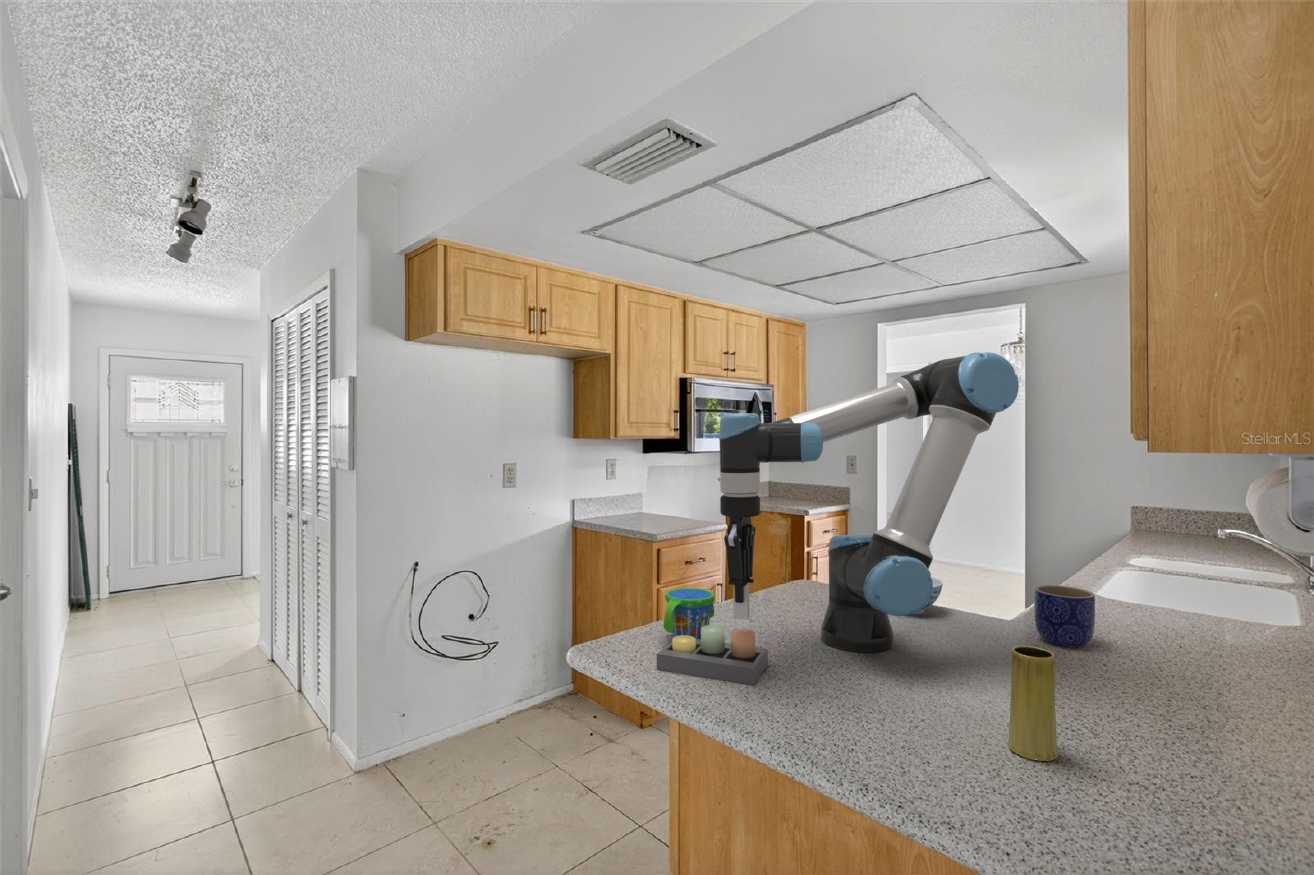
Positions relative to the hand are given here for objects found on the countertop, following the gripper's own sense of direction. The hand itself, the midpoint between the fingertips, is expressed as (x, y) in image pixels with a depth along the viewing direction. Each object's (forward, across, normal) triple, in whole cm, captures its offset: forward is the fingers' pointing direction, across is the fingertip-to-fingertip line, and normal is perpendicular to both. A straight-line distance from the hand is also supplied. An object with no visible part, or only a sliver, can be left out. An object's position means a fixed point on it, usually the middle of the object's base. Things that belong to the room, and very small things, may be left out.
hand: (741, 618), depth 119 cm
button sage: (+7, 0, -6) cm, 9 cm away
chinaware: (+11, -56, +28) cm, 63 cm away
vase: (+11, +12, +46) cm, 49 cm away
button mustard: (+9, 0, -12) cm, 15 cm away
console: (+10, 0, -6) cm, 12 cm away
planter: (+11, -43, +59) cm, 74 cm away
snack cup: (+10, -13, -16) cm, 23 cm away
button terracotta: (+7, 0, 0) cm, 7 cm away
